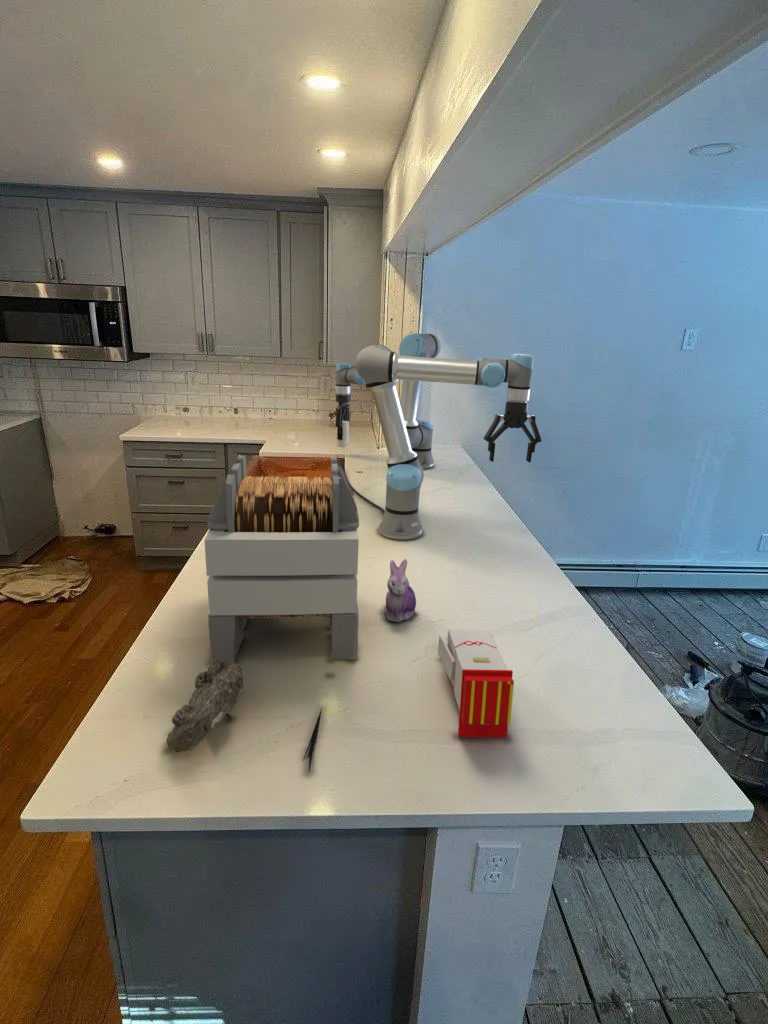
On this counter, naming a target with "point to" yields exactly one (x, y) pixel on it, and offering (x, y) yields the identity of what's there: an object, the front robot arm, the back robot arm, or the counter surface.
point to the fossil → (206, 705)
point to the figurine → (399, 594)
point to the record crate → (282, 556)
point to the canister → (345, 435)
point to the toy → (478, 682)
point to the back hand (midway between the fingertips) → (342, 438)
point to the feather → (313, 740)
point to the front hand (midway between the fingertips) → (509, 461)
